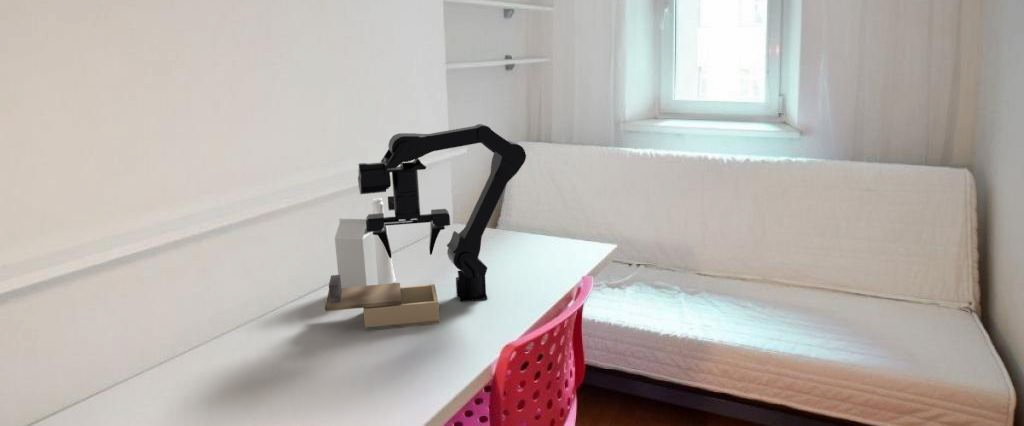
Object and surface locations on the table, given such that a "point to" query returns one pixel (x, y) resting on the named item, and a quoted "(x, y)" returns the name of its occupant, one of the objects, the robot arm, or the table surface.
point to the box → (405, 310)
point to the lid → (361, 295)
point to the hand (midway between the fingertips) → (410, 256)
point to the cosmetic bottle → (382, 251)
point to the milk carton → (355, 254)
